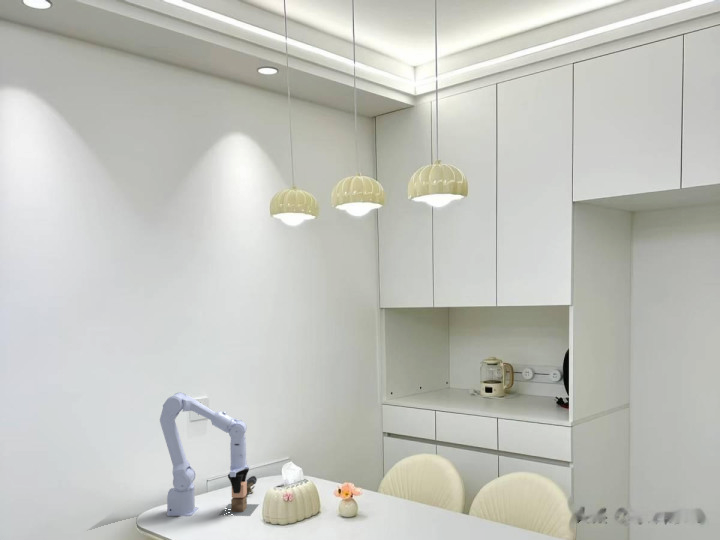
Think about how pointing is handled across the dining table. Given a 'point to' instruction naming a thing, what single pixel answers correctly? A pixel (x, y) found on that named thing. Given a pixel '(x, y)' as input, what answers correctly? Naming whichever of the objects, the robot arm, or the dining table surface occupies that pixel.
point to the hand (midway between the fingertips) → (238, 490)
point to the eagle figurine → (251, 484)
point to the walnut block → (238, 504)
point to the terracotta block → (241, 491)
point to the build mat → (247, 512)
